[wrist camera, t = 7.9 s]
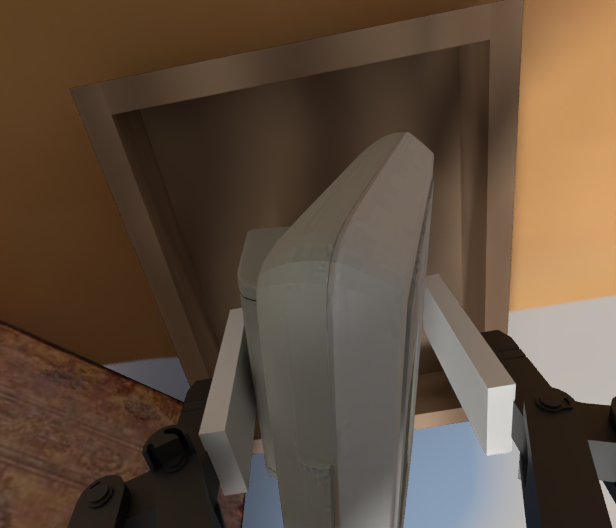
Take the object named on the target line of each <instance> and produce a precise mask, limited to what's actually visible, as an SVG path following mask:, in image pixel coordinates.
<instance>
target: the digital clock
mask: <svg viewBox="0 0 616 528" xmlns="http://www.w3.org/2000/svg"><path fill="white" fill-rule="evenodd" d="M433 162H434V154H433V152H432V151H431V150H429V149H428V148H427V147H426V146H425V145H424V144H423V143H422V142H420V141H419V140H418V139H417V138H415V137H414V136H413V135H412V134H410V133H409V132H406V133H405V132H399V133H393V134H390V135H387V136H384V137H382V138H381V139H379V140H378V141H376V142H375V143H373V144H372V145H370V146H369V147H368V148H367V149H366V150H364V151H363V152H362V153H361V154H360V155H359V156H358V157H357V158H356V159H355V160H354V161H353V162H352V163H351V164H350V165H349V166H348V167H347V168H346V169H345V170H344V172H343V173H342V174H341V175H340V176H339V177H338V178H337V179H336V180H335V181H334V182H333V183H332V184H331V185H330V186H329V187H328V188H327V189H326V190H325V191H324V192H323V193H322V194H321V195H320V196H319V197H318V198H317V200H316V201H315V202H314V203H313V204H312V205H311V206H310V207H309V208H308V209H307V210H306V211H305V212H304V213H303V214H302V215H301V216H300V217H299V218H298V219H297V220H296V222H295V223H294V224H293V225H292V226H289V227H274V228H260V229H254V230H250V231H248V233H247V236H246V240H245V244H244V248H243V251H242V255H241V259H240V263H239V267H238V273H237V275H238V285H239V291H240V298H241V305H242V312H243V318H244V325H245V332H246V338H247V345H248V352H249V358H250V365H251V372H252V378H253V385H254V392H255V398H256V405H257V412H258V418H259V425H260V432H261V439H262V445H263V452H264V458H265V465H266V468H267V470H268V473H269V475H270V476H272V477H273V478H275V479H277V480H278V486H279V493H280V500H281V508H282V516H283V523H284V528H403V524H404V515H405V506H406V497H407V487H408V479H409V478H408V477H409V470H410V461H411V452H412V442H413V430H414V418H415V406H416V394H417V381H418V369H419V357H420V345H421V333H422V321H423V309H424V296H425V284H426V272H427V260H428V248H429V236H430V224H431V211H432V199H433V187H434V180H432V178H433Z"/></svg>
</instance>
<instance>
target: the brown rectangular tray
mask: <svg viewBox="0 0 616 528" xmlns="http://www.w3.org/2000/svg"><path fill="white" fill-rule="evenodd" d="M523 2H524V0H502V1H497V2H492V3H488V4H483V5H478V6H473V7H468V8H463V9H458V10H453V11H448V12H443V13H438V14H433V15H428V16H424V17H419V18H414V19H409V20H404V21H399V22H394V23H389V24H384V25H379V26H374V27H369V28H364V29H359V30H355V31H350V32H345V33H340V34H335V35H330V36H325V37H320V38H315V39H310V40H305V41H300V42H295V43H291V44H286V45H281V46H276V47H271V48H266V49H261V50H256V51H251V52H246V53H241V54H236V55H231V56H227V57H222V58H217V59H212V60H207V61H202V62H197V63H192V64H187V65H182V66H177V67H172V68H167V69H162V70H158V71H153V72H148V73H143V74H138V75H133V76H128V77H123V78H118V79H113V80H108V81H103V82H98V83H94V84H89V85H84V86H79V87H74V88H69V89H70V92H71V94H72V97H73V99H74V102H75V104H76V107H77V109H78V112H79V114H80V116H81V119H82V121H83V124H84V126H85V129H86V131H87V134H88V136H89V139H90V141H91V144H92V146H93V148H94V151H95V153H96V156H97V158H98V161H99V163H100V166H101V168H102V171H103V173H104V176H105V178H106V181H107V183H108V185H109V188H110V190H111V193H112V195H113V198H114V200H115V203H116V205H117V208H118V210H119V213H120V215H121V217H122V220H123V222H124V225H125V227H126V230H127V232H128V235H129V237H130V240H131V242H132V245H133V247H134V250H135V252H136V254H137V257H138V259H139V262H140V264H141V267H142V269H143V272H144V274H145V277H146V279H147V282H148V284H149V286H150V289H151V291H152V294H153V296H154V299H155V301H156V304H157V306H158V309H159V311H160V314H161V316H162V319H163V321H164V323H165V326H166V328H167V331H168V333H169V336H170V338H171V341H172V343H173V346H174V348H175V351H176V353H177V355H178V358H179V360H180V363H181V365H182V368H183V370H184V373H185V375H186V377H187V380H188V382H189V385H190V388H191V386H192V385H193V384H194V383H195V381H197V380H203V379H209V378H213V376H214V372H215V368H216V364H217V360H218V356H219V352H220V348H221V344H222V340H223V336H224V332H225V328H226V324H227V320H228V316H229V313H230V310H231V309H237V308H242V305H241V298H240V291H239V285H238V275H237V273H238V267H239V263H240V259H241V255H242V251H243V248H244V244H245V240H246V236H247V233H248V231H250V230H254V229H260V228H274V227H289V226H292V225H293V224H294V223H295V222H296V220H297V219H298V218H299V217H300V216H301V215H302V214H303V213H304V212H305V211H306V210H307V209H308V208H309V207H310V206H311V205H312V204H313V203H314V202H315V201H316V200H317V198H318V197H319V196H320V195H321V194H322V193H323V192H324V191H325V190H326V189H327V188H328V187H329V186H330V185H331V184H332V183H333V182H334V181H335V180H336V179H337V178H338V177H339V176H340V175H341V174H342V173H343V172H344V170H345V169H346V168H347V167H348V166H349V165H350V164H351V163H352V162H353V161H354V160H355V159H356V158H357V157H358V156H359V155H360V154H361V153H362V152H363V151H364V150H366V149H367V148H368V147H369V146H370V145H372V144H373V143H375V142H376V141H378V140H379V139H381V138H382V137H384V136H387V135H390V134H393V133H399V132H405V133H406V132H409V133H410V134H412V135H413V136H414V137H415V138H417V139H418V140H419V141H420V142H422V143H423V144H424V145H425V146H426V147H427V148H428V149H429V150H431V151H432V152H433V154H434V162H433V178H432V180H434V187H433V199H432V211H431V224H430V236H429V248H428V260H427V272H426V276H427V275H433V274H439V276H440V277H441V278H442V280H443V281H444V283H445V284H446V285H447V287H448V288H449V290H450V291H451V293H452V294H453V295H454V297H455V298H456V300H457V301H458V302H459V304H460V305H461V307H462V308H463V310H464V311H465V312H466V314H467V315H468V317H469V318H470V320H471V321H472V322H473V324H474V325H475V327H476V328H477V329H478V331H479V332H480V333H481V332H487V331H493V330H500V331H501V332H503V333H505V334H506V335H507V333H508V313H509V292H510V271H511V250H512V230H513V209H514V188H515V168H516V147H517V126H518V105H519V85H520V64H521V43H522V22H523ZM467 421H469V420H468V418H467V416H466V414H465V412H464V410H463V408H462V406H461V404H460V402H459V400H458V398H457V396H456V394H455V392H454V390H453V388H452V386H451V384H450V382H449V380H448V378H447V376H446V374H445V372H444V370H443V368H442V366H441V364H440V362H439V360H438V358H437V356H436V354H435V352H434V350H433V348H432V346H431V344H430V342H429V340H428V338H427V336H426V334H425V332H424V329H423V321H422V333H421V345H420V357H419V369H418V381H417V394H416V406H415V418H414V430H415V429H422V428H428V427H434V426H441V425H448V424H454V423H461V422H467ZM260 453H264V452H263V445H262V439H261V432H260V425H259V418H258V412H257V409H256V419H255V429H254V438H253V448H252V455H253V454H260Z"/></svg>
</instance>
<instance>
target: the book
mask: <svg viewBox="0 0 616 528" xmlns="http://www.w3.org/2000/svg"><path fill="white" fill-rule="evenodd" d="M183 405H184V402H182V401H180V400H178V399H175V398H173V397H171V396H169V395H166V394H164V393H162V392H160V391H157V390H155V389H153V388H151V387H148V386H146V385H144V384H142V383H140V382H137V381H135V380H133V379H131V378H128V377H126V376H124V375H122V374H120V373H117V372H115V371H113V370H111V369H108V368H106V367H104V366H102V365H99V364H97V363H95V362H93V361H91V360H88V359H86V358H84V357H82V356H79V355H77V354H75V353H73V352H70V351H68V350H66V349H64V348H61V347H59V346H57V345H55V344H53V343H50V342H48V341H46V340H44V339H41V338H39V337H37V336H35V335H32V334H30V333H28V332H26V331H23V330H21V329H19V328H17V327H15V326H12V325H10V324H8V323H6V322H3V321H1V320H0V528H67V527H68V524H69V522H70V519H71V516H72V513H73V511H74V508H75V505H76V502H77V501H78V499H79V497H80V495H81V493H82V492H83V491H84V490H85V489H86V488H87V487H88V486H89V485H90V484H92V483H93V482H94V481H96V480H97V479H99V478H102V477H104V476H106V475H114V474H115V475H118V476H121V477H122V479H123V481H124V482H126V481H128V480H131V479H133V478H135V477H137V476H140V475H142V474H144V473H146V472H148V471H150V468H149V466H148V464H147V462H146V461H145V459H144V457H143V455H142V451H143V446H144V444H145V443H146V441H147V439H148V438H149V437H150V436H151V435H152V434H154V433H155V432H156V431H158V430H159V429H161V428H163V427H166V426H169V425H177V423H178V419H179V416H180V415H181V410H182V407H183ZM245 493H246V492H245ZM245 493H239V494H232V495H226V496H224V494H223V492H222V489H221V487H220V486H219V491H218V497H217V500H218V502H219V504H220V507H221V510H222V514H223V518H224V522H225V526H226V528H242V521H243V511H244V503H245Z"/></svg>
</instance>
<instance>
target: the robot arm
mask: <svg viewBox="0 0 616 528" xmlns="http://www.w3.org/2000/svg"><path fill="white" fill-rule="evenodd" d="M423 329H424V332H425V334H426V336H427V338H428V340H429V342H430V344H431V346H432V348H433V350H434V352H435V354H436V356H437V358H438V360H439V362H440V364H441V366H442V368H443V370H444V372H445V374H446V376H447V378H448V380H449V382H450V384H451V386H452V388H453V390H454V392H455V394H456V396H457V398H458V400H459V402H460V404H461V406H462V408H463V410H464V412H465V414H466V416H467V418H468V420H469V422H470V423H471V426H472V428H473V430H474V432H475V434H476V436H477V438H478V440H479V442H480V444H481V446H482V448H483V450H484V452H485V454H486V456H489V455H495V454H502V453H509V452H512V439H513V441H514V442H515V444H516V446H517V447H518V449H519V451H520V461H519V473H518V479H521V481H522V490H523V499H524V509H525V517H526V527H527V528H612V525H611V521H610V518H609V515H608V511H607V508H606V504H605V500H604V497H603V494H602V490H601V486H600V483H599V480H602V481H603V482H604V484H605V486H606V488H607V489H608V491H609V493H610V495H611V496H612V498H613V500H614V501H615V503H616V397H614V398H613V399H612V403H611V406H609V405H598V404H586V403H580V402H577V401H575V400H574V399H573V398H572V397H571V396H569V395H568V394H567V393H565V392H563V391H561V390H559V389H555V388H552V387H551V386H550V385H549V384H548V382H547V381H546V380H545V379H544V378H543V376H542V375H541V374H540V373H539V371H537V369H536V368H535V367H534V365H533V364H532V363H531V362H530V360H529V359H528V358H527V357H526V355H525V354H524V353H523V352H522V350H521V349H519V347H518V345H517V344H516V343H515V342H514V340H513V339H512V338H511V337H510V336H508V335H506V334H505V333H503V332H501V331H500V330H493V331H487V332H481V333H480V332H479V331H478V329H477V328H476V327H475V325H474V324H473V322H472V321H471V320H470V318H469V317H468V315H467V314H466V312H465V311H464V310H463V308H462V307H461V305H460V304H459V302H458V301H457V300H456V298H455V297H454V295H453V294H452V293H451V291H450V290H449V288H448V287H447V285H446V284H445V283H444V281H443V280H442V278H441V277H440V276H439V274H433V275H427V276H426V284H425V296H424V309H423ZM256 409H257V405H256V398H255V392H254V385H253V378H252V372H251V365H250V358H249V352H248V345H247V338H246V332H245V325H244V318H243V312H242V308H237V309H231V310H230V313H229V316H228V320H227V324H226V328H225V332H224V336H223V340H222V344H221V348H220V352H219V356H218V360H217V364H216V368H215V372H214V376H213V378H209V379H203V380H197V381H195V383H194V384H193V385H192V386H191V388H190V389H189V390H188V392H187V395H186V398H185V401H184V405H183V407H182V410H181V415H180V416H179V419H178V423H177V425H169V426H166V427H163V428H161V429H159V430H158V431H156V432H155V433H154V434H152V435H151V436H150V437H149V438H148V439H147V441H146V443H145V444H144V446H143V451H142V455H143V457H144V459H145V461H146V462H147V464H148V466H149V468H150V471H148V472H146V473H144V474H142V475H140V476H137V477H135V478H133V479H131V480H128V481H126V482H124V481H123V479H122V477H121V476H118V475H115V474H114V475H106V476H104V477H102V478H99V479H97V480H96V481H94V482H93V483H92V484H90V485H89V486H88V487H87V488H86V489H85V490H84V491H83V492H82V493H81V495H80V497H79V499H78V501H77V502H76V505H75V508H74V511H73V513H72V516H71V519H70V522H69V524H68V527H67V528H226V526H225V522H224V518H223V514H222V510H221V507H220V504H219V502H218V500H217V497H218V491H219V486H220V487H221V489H222V492H223V494H224V496H226V495H232V494H239V493H245V492H248V487H249V477H250V467H251V457H252V448H253V438H254V429H255V419H256Z"/></svg>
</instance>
